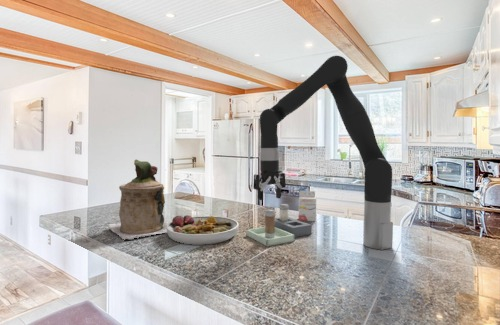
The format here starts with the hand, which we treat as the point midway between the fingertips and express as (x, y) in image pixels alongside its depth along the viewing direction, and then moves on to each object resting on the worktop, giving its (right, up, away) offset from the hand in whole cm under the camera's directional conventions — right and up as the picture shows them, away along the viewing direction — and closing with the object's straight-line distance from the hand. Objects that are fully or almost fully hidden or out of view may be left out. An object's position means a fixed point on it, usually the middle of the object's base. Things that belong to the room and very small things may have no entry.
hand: (269, 199), depth 121 cm
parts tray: (0, -16, +1) cm, 16 cm away
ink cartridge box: (+21, -15, +32) cm, 41 cm away
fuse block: (+10, -16, +12) cm, 22 cm away
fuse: (+8, -16, +16) cm, 23 cm away
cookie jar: (-56, -16, +13) cm, 60 cm away
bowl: (-28, -17, +6) cm, 33 cm away
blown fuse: (0, -16, +1) cm, 16 cm away
